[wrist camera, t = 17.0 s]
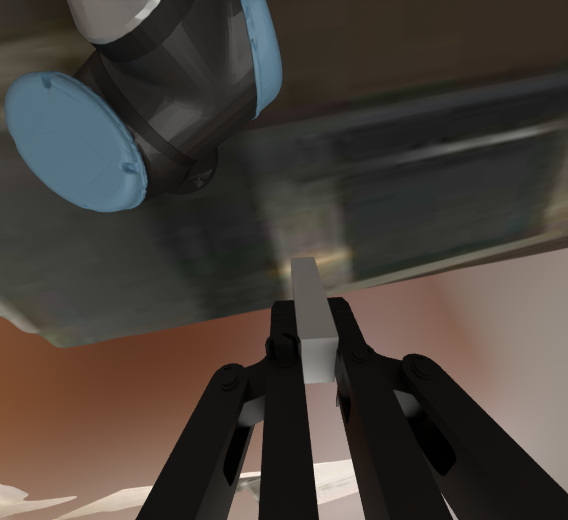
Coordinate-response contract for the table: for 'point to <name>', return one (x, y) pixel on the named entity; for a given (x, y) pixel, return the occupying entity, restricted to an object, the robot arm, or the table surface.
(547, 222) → the table surface
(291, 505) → the robot arm
